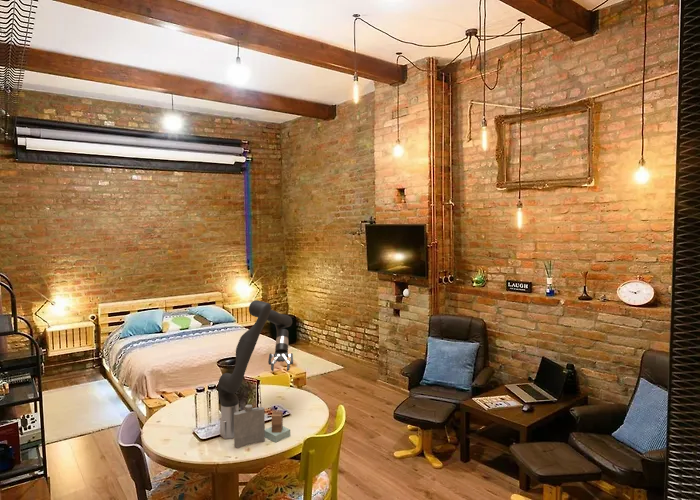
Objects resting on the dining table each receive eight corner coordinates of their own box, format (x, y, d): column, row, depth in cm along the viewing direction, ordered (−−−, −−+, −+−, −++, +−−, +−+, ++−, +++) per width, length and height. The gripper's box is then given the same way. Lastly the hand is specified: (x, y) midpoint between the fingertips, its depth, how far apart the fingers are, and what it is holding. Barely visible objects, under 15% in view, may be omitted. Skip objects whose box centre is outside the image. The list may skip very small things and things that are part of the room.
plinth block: (275, 443, 240) (275, 436, 240) (263, 437, 247) (263, 430, 247) (290, 436, 248) (290, 429, 247) (278, 431, 254) (278, 423, 254)
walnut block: (281, 432, 244) (281, 415, 243) (271, 432, 244) (271, 415, 243) (282, 428, 249) (282, 411, 248) (273, 427, 249) (273, 411, 248)
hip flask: (235, 448, 234) (234, 410, 232) (233, 445, 237) (232, 407, 236) (265, 441, 241) (265, 404, 240) (263, 438, 245) (262, 401, 244)
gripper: (269, 342, 274) (267, 367, 263) (293, 342, 275) (292, 367, 264) (270, 348, 280) (268, 373, 269) (294, 348, 280) (293, 373, 270)
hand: (280, 370), depth 267 cm, fingers open, 8 cm apart
